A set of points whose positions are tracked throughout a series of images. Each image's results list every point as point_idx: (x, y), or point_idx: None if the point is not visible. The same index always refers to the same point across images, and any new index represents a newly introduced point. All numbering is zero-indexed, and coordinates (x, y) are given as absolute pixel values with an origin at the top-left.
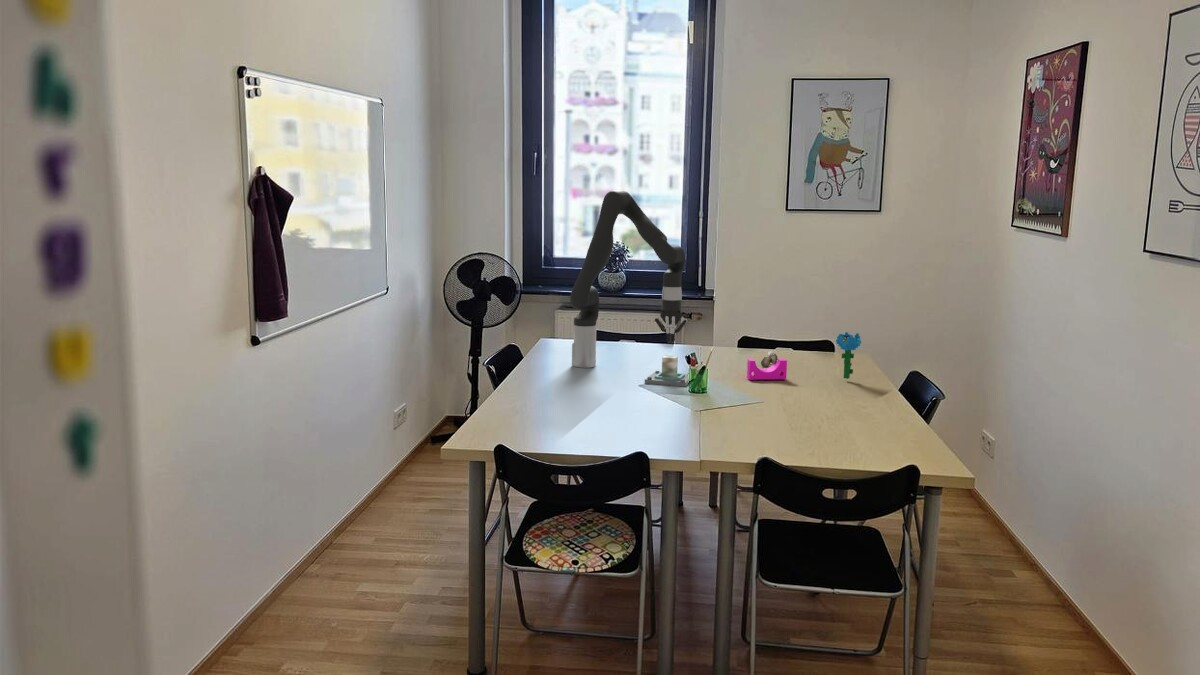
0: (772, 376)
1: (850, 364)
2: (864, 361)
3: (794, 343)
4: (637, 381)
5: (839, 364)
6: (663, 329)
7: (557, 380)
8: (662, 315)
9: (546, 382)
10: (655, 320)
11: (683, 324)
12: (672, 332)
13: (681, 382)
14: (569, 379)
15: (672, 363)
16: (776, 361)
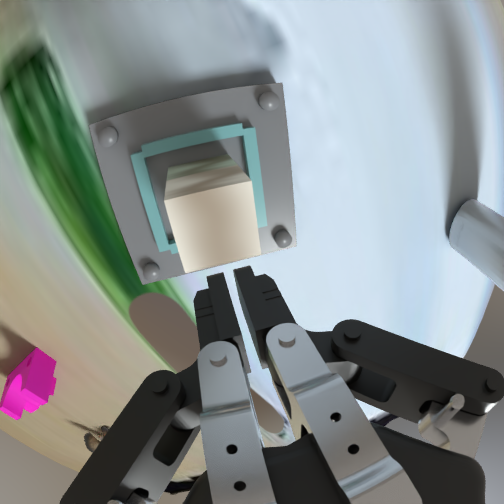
0: (15, 371)
1: None
2: (61, 464)
3: (187, 487)
4: (315, 109)
5: (62, 454)
6: (352, 341)
7: (477, 61)
8: (462, 485)
9: (481, 36)
10: (492, 373)
11: (89, 475)
12: (220, 352)
13: (107, 118)
14: (467, 78)
15: (178, 185)
16: (85, 439)
